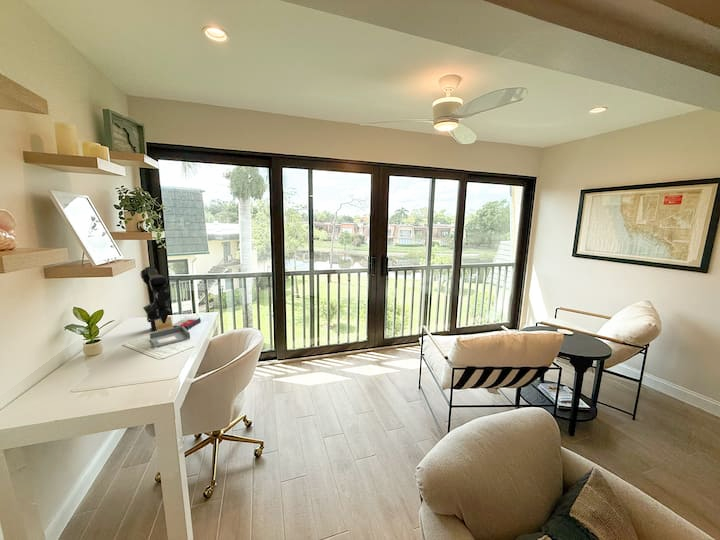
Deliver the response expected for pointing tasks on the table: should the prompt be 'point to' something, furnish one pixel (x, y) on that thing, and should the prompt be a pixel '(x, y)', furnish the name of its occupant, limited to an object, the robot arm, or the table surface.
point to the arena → (169, 336)
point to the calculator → (187, 322)
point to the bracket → (161, 326)
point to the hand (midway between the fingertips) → (163, 323)
